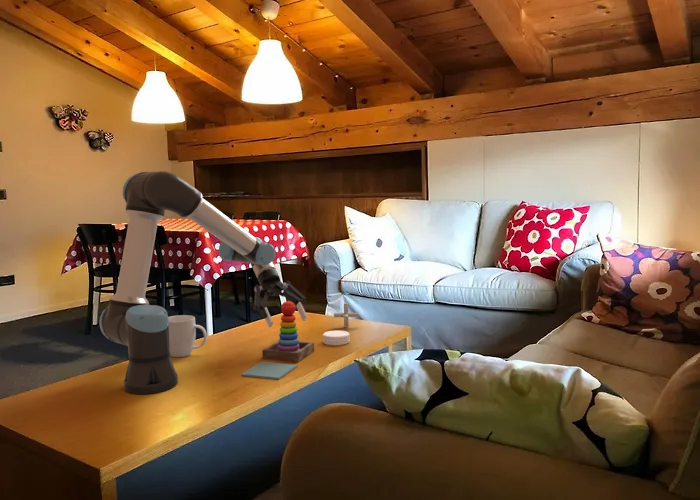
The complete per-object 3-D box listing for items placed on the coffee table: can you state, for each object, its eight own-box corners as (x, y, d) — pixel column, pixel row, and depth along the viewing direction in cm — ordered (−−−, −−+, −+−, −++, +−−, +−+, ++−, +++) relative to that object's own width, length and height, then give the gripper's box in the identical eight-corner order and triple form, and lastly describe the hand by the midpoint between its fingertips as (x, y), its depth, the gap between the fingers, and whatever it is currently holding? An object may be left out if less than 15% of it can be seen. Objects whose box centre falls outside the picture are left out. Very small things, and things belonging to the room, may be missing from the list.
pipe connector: (358, 330, 234) (358, 305, 233) (333, 330, 234) (333, 306, 233) (358, 324, 244) (358, 300, 243) (334, 324, 244) (334, 301, 243)
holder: (298, 361, 193) (298, 353, 193) (262, 358, 198) (262, 350, 197) (314, 350, 206) (314, 342, 205) (280, 348, 210) (279, 339, 210)
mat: (279, 379, 176) (279, 377, 176) (241, 375, 180) (241, 373, 180) (297, 366, 188) (297, 364, 188) (261, 363, 192) (261, 361, 192)
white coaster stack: (333, 337, 224) (333, 328, 224) (354, 341, 218) (354, 332, 218) (317, 343, 216) (317, 334, 215) (339, 347, 210) (339, 338, 210)
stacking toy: (299, 357, 198) (297, 303, 196) (275, 358, 198) (273, 304, 196) (301, 351, 205) (299, 299, 203) (278, 351, 206) (277, 299, 204)
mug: (210, 349, 210) (209, 314, 209) (204, 358, 199) (202, 321, 198) (169, 350, 210) (167, 315, 208) (160, 359, 199) (158, 322, 197)
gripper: (292, 276, 222) (315, 322, 211) (232, 284, 207) (252, 333, 197) (299, 264, 217) (322, 310, 207) (237, 271, 202) (259, 321, 192)
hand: (288, 322), depth 202 cm, fingers open, 13 cm apart
